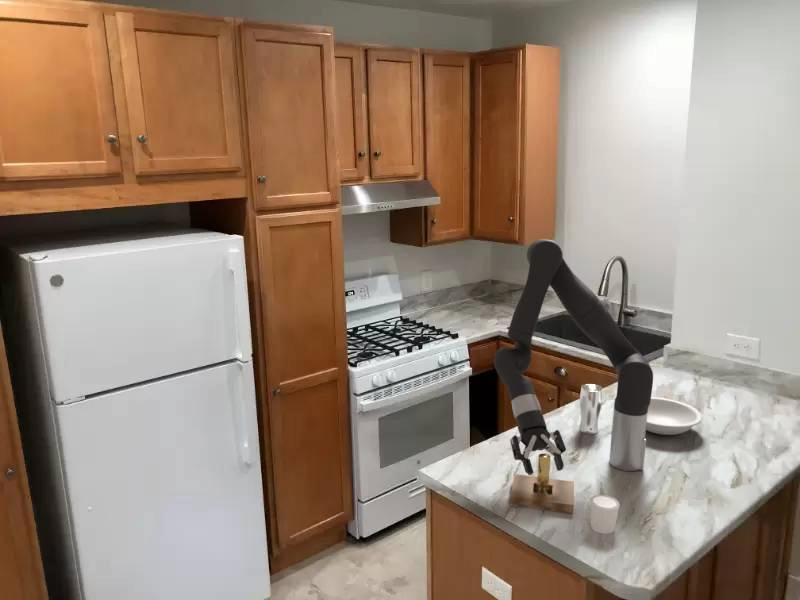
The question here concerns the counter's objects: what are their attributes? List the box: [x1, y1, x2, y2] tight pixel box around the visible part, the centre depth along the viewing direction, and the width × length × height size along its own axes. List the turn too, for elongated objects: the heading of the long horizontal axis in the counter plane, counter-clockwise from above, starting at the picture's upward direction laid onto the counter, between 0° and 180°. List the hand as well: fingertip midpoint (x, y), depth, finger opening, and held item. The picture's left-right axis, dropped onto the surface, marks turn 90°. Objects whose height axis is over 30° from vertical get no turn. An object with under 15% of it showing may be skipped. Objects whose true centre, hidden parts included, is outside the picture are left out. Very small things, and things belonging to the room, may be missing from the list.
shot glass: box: [589, 494, 620, 535], centre depth 155 cm, size 7×7×7 cm
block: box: [509, 473, 575, 515], centre depth 169 cm, size 16×12×2 cm
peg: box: [536, 453, 551, 495], centre depth 168 cm, size 3×3×12 cm
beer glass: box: [578, 383, 603, 435], centre depth 208 cm, size 7×7×15 cm
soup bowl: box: [646, 396, 703, 436], centre depth 209 cm, size 24×24×7 cm
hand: (545, 471), depth 166 cm, fingers open, 8 cm apart
